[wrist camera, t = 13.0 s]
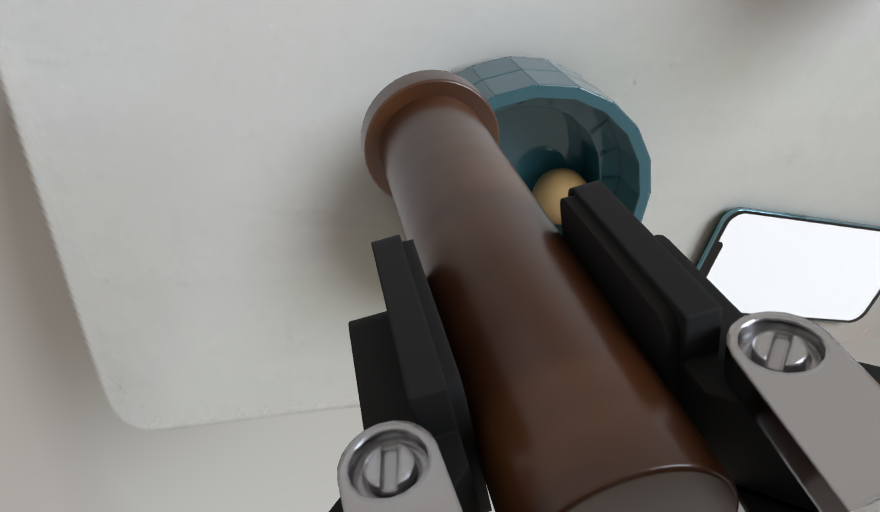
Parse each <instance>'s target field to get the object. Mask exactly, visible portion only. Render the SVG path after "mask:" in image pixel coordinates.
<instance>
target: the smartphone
mask: <svg viewBox="0 0 880 512" xmlns="http://www.w3.org/2000/svg"><path fill="white" fill-rule="evenodd" d="M696 268H697V269H698V270H699V271H700V272H701V273H702V274H703V275H704V276H705V277H706V278H707V279H708V280H709V281H710V282H711V283H712V284H713V285H714V286H715V287H716V288H717V289H718V290H719V291H720V292H721V293H722V294H723V295H724V296H725V297H726V298H727V299H728V300H729V301H730V302H731V303H732V304H733V305H734V306H735V307H736V308H737V309H738V310H739V311H740V312H741V313H742V314H743V315H744V316H747V315H749V314H752V313H758V312H766V311H774V312H786V313H790V314H794V315H798V316H802V317H804V318H806V319H808V320H815V321H829V322H843V323H852V322H855V321H858V320H859V319H861V318H862V317H864V316H865V315H866V314H867V312H868V311H869V310H870V308H871V307H872V305H873V304H874V302H875V301H876V300H877V298H878V297H879V295H880V226H873V225H866V224H859V223H852V222H844V221H837V220H830V219H823V218H815V217H808V216H804V215H796V214H789V213H779V212H772V211H765V210H758V209H750V208H743V207H738V208H734V209H732V210H730V211H729V212H727V213H726V214H725V215H724V216H723V217H722V218H721V220H720V222H719V224H718V226H717V227H716V229H715V231H714V233H713V235H712V237H711V239H710V241H709V243H708V245H707V247H706V249H705V251H704V253H703V255H702V257H701V259H700V261H699V263H698V265H697V267H696Z"/></svg>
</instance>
